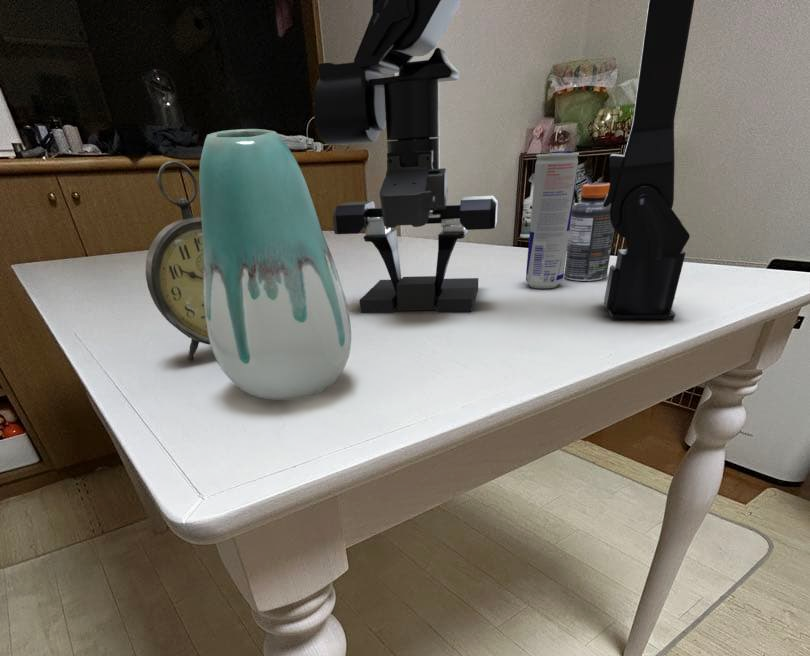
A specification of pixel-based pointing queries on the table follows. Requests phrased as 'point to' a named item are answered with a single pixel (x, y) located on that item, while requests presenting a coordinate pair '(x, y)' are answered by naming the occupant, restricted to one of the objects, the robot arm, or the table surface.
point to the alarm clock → (179, 270)
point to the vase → (268, 270)
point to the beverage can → (551, 218)
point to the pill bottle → (589, 235)
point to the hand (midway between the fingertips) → (418, 295)
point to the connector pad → (416, 293)
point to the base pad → (451, 299)
